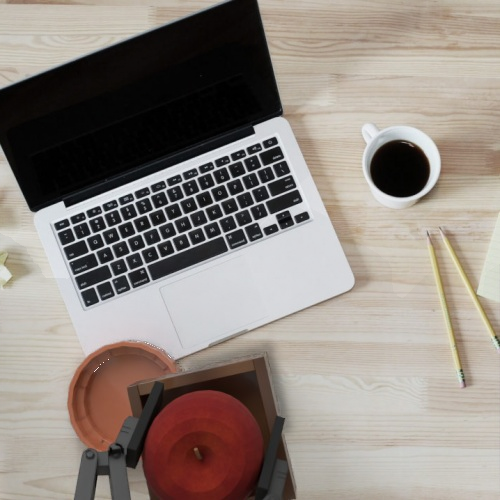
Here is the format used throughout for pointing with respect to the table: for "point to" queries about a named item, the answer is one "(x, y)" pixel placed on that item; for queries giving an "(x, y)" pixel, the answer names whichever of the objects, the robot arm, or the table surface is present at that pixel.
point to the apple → (203, 449)
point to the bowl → (111, 388)
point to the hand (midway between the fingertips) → (218, 408)
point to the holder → (232, 383)
